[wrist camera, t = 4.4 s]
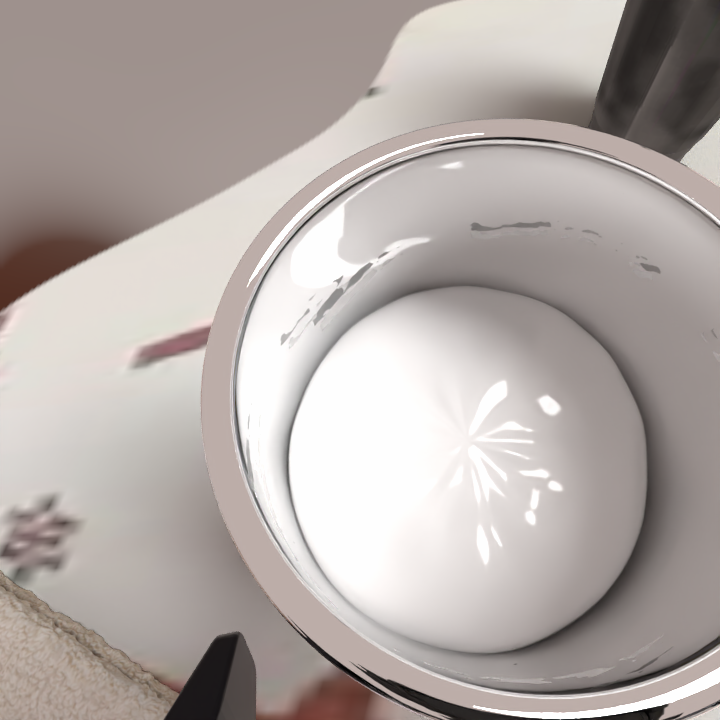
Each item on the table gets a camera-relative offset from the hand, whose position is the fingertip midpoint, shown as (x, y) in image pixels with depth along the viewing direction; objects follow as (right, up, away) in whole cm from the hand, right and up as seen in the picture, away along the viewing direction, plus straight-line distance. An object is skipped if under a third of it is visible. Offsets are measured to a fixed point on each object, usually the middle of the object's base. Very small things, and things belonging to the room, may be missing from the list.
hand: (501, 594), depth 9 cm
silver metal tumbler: (0, -1, +11) cm, 11 cm away
